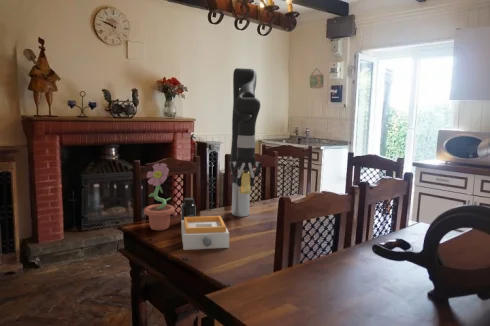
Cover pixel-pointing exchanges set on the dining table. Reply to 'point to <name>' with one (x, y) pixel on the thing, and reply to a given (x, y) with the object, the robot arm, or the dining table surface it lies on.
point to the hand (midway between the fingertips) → (245, 186)
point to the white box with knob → (204, 233)
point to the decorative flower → (158, 212)
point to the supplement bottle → (188, 208)
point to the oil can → (245, 182)
